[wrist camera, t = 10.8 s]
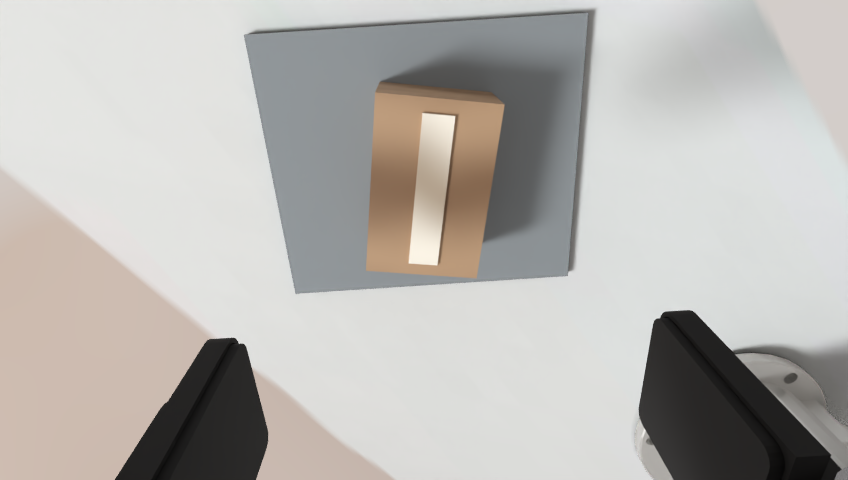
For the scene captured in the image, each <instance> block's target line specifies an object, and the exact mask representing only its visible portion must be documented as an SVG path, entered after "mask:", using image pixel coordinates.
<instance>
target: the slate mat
mask: <svg viewBox="0 0 848 480" xmlns="http://www.w3.org/2000/svg"><path fill="white" fill-rule="evenodd" d="M587 24H588V13H573V14H558V15H542V16H526V17H511V18H495V19H480V20H464V21H448V22H433V23H417V24H401V25H386V26H370V27H355V28H339V29H323V30H308V31H292V32H276V33H261V34H246V35H244V38H245V43H246V48H247V53H248V58H249V63H250V68H251V73H252V78H253V83H254V88H255V93H256V98H257V103H258V108H259V113H260V118H261V123H262V128H263V133H264V138H265V143H266V148H267V153H268V158H269V163H270V168H271V173H272V178H273V183H274V188H275V193H276V198H277V203H278V208H279V213H280V218H281V223H282V228H283V233H284V238H285V243H286V248H287V253H288V258H289V263H290V268H291V273H292V278H293V283H294V288H295V293H296V294H297V293H313V292H328V291H343V290H359V289H374V288H389V287H405V286H420V285H435V284H451V283H466V282H481V281H497V280H512V279H528V278H543V277H558V276H568V265H569V253H570V240H571V227H572V214H573V202H574V189H575V176H576V164H577V151H578V138H579V126H580V113H581V100H582V87H583V75H584V62H585V49H586V37H587ZM379 82H390V83H401V84H411V85H422V86H432V87H442V88H453V89H463V90H474V91H484V92H492V93H493V94H494V95H495V96H496V97H497V98H498V99H499V100H500V101H501V102H503V103H504V104H505V106H504V112H503V118H502V125H501V131H500V137H499V143H498V149H497V155H496V162H495V168H494V174H493V180H492V186H491V193H490V199H489V205H488V211H487V217H486V223H485V230H484V236H483V242H482V248H481V254H480V260H479V267H478V273H477V278H463V277H449V276H434V275H420V274H405V273H391V272H376V271H366V261H367V242H368V222H369V202H370V183H371V163H372V143H373V124H374V104H375V91H376V89H377V87H378V84H379Z"/></svg>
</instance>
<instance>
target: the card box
mask: <svg viewBox="0 0 848 480" xmlns="http://www.w3.org/2000/svg"><path fill="white" fill-rule="evenodd" d="M504 106H505V104H504V103H503V102H501V101H500V100H499V99H498V98H497V97H496V96H495V95H494V94H493V93H492V92H484V91H474V90H463V89H453V88H442V87H432V86H422V85H411V84H401V83H390V82H379V84H378V87H377V89H376V91H375V104H374V124H373V143H372V163H371V183H370V202H369V222H368V242H367V261H366V271H376V272H391V273H405V274H420V275H434V276H449V277H463V278H477V273H478V267H479V260H480V254H481V248H482V242H483V236H484V230H485V223H486V217H487V211H488V205H489V199H490V193H491V186H492V180H493V174H494V168H495V162H496V155H497V149H498V143H499V137H500V131H501V125H502V118H503V112H504Z"/></svg>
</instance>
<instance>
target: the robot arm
mask: <svg viewBox="0 0 848 480" xmlns="http://www.w3.org/2000/svg"><path fill="white" fill-rule="evenodd" d="M639 416H640V418H639V420H638V423H637V427H636V432H635V447H636V450H637V454H638V457H639V459H640V461H641V462H642V464H643V466H644V468H645V470H646V472H647V473H648V474H649V475H650V476H651V477H652V479H653V480H848V425H843V424H842V423H840V422H838V421H837V420H836V419H835V418H834V417H833V416H832V415H831V414H830V413H829V412H828V411H827V410H826V400H825V397H824V394H823V392H822V389H821V387H820V386H819V385H818V384H817V382H816V381H815V380H814V379H813V378H812V377H811V376H810V375H809V374H808V373H807V372H805V371H804V370H803V369H802V368H801V367H800V366H798V365H796V364H795V363H793V362H791V361H789V360H787V359H785V358H781V357H778V356H774V355H770V354H759V353H746V354H734V353H733V352H732V351H731V350H730V349H729V348H728V347H727V346H726V345H725V344H724V343H723V342H722V340H721V339H720V338H719V337H718V336H717V335H716V334H715V333H714V332H713V331H712V330H711V329H710V328H709V327H708V326H707V325H706V324H705V323H704V322H703V321H702V320H701V319H700V318H699V317H698V315H697V314H696V313H694V312H693V311H690V310H685V311H669V312H664V313H663V314H662V315H661V318H659V319H656V320H655V321H654V324H653V329H652V334H651V340H650V346H649V352H648V358H647V364H646V369H645V375H644V381H643V387H642V393H641V398H640V404H639ZM267 444H268V430H267V426H266V422H265V418H264V414H263V411H262V406H261V402H260V398H259V395H258V391H257V387H256V383H255V379H254V375H253V372H252V368H251V364H250V360H249V356H248V352H247V349H246V346H245V345H244V344H239V343H238V341H237V340H236V339H235V338H222V339H210V340H207V342H206V343H205V344H204V346H203V347H202V349H201V350H200V352H199V354H198V355H197V357H196V358H195V360H194V362H193V363H192V365H191V366H190V368H189V369H188V371H187V372H186V374H185V376H184V377H183V379H182V380H181V382H180V384H179V385H178V387H177V388H176V390H175V391H174V393H173V394H172V396H171V398H170V399H169V401H168V402H167V403H165V404H164V405H163V406H162V408H161V409H160V410H159V412H158V414H157V415H156V416H155V418H154V420H153V421H152V423H151V424H150V426H149V427H148V429H147V430H146V432H145V434H144V435H143V437H142V438H141V440H140V441H139V443H138V444H137V446H136V448H135V449H134V451H133V452H132V454H131V455H130V457H129V458H128V460H127V462H126V463H125V465H124V466H123V468H122V470H121V471H120V472H119V474H118V476H117V477H116V479H115V480H256V478H257V475H258V472H259V469H260V466H261V463H262V460H263V457H264V454H265V451H266V448H267Z"/></svg>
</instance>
